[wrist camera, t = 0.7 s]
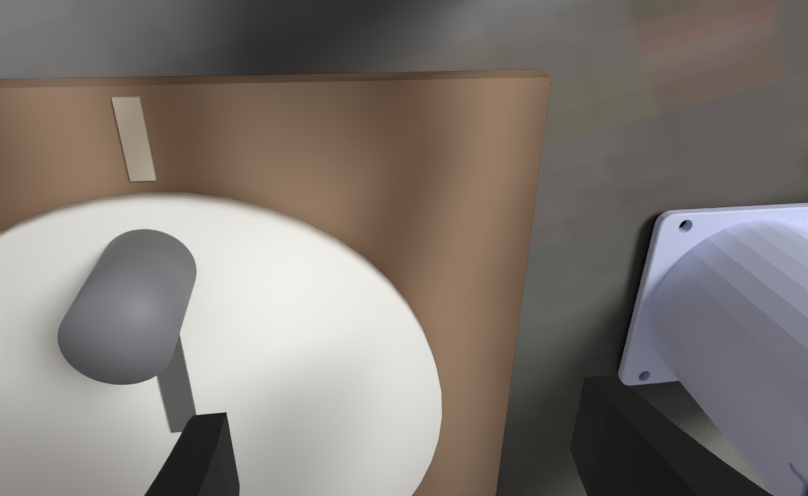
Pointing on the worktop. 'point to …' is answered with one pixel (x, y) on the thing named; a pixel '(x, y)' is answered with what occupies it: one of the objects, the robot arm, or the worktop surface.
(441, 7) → the worktop surface
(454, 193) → the dial board
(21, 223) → the dial
